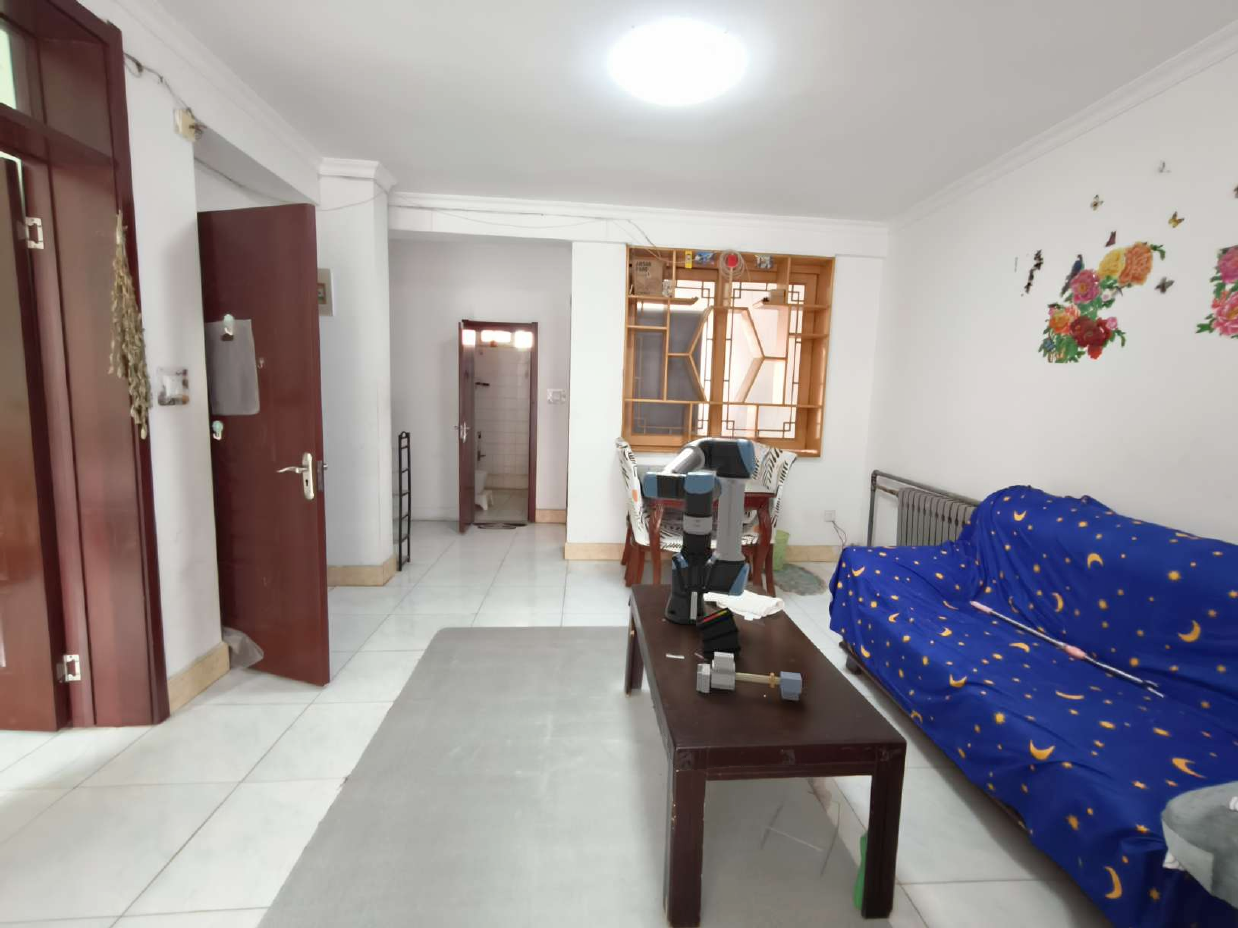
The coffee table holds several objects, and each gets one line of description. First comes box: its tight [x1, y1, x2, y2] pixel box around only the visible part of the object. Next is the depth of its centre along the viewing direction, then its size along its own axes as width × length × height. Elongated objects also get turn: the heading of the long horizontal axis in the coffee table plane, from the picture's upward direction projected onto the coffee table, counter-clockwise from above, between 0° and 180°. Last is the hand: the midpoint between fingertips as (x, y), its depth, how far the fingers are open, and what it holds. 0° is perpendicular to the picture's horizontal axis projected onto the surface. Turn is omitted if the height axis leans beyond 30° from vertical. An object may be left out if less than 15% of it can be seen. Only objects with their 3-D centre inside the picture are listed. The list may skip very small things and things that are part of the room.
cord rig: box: [696, 663, 803, 702], centre depth 144 cm, size 6×27×6 cm, turn 80°
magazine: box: [695, 607, 742, 659], centre depth 164 cm, size 4×13×15 cm, turn 92°
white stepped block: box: [710, 652, 736, 691], centre depth 145 cm, size 5×6×8 cm
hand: (693, 617), depth 145 cm, fingers closed
